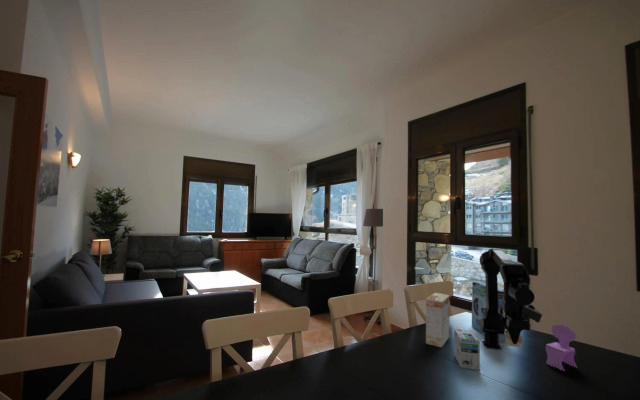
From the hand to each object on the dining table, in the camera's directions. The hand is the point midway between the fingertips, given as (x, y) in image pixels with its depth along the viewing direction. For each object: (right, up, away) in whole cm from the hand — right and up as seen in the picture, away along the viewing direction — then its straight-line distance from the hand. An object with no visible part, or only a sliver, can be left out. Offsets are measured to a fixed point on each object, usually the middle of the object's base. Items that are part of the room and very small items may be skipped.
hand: (513, 341), depth 106 cm
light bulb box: (-14, -12, +7) cm, 19 cm away
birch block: (0, -1, 0) cm, 1 cm away
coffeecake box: (-16, -13, +27) cm, 34 cm away
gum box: (+12, -14, +37) cm, 42 cm away
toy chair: (+23, -13, +6) cm, 27 cm away
